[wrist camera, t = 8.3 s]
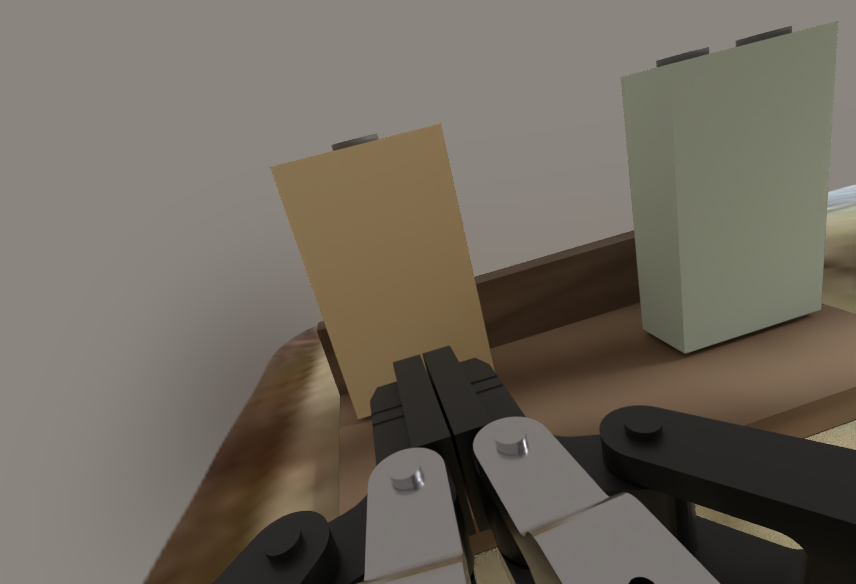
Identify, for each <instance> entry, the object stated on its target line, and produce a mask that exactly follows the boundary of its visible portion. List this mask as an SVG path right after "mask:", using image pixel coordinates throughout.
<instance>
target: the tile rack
mask: <svg viewBox="0 0 856 584" xmlns="http://www.w3.org/2000/svg"><path fill="white" fill-rule="evenodd" d="M474 278H475V283H476V288H477V292H478V297H479V301H480V306H481V311H482V315H483V320H484V324H485V329H486V334H487V338H488V343H489V347H490V352H491V357H492V361H493V366H494V370H495V373H496V374H497V377H499V379H500V380H501V382H502V383H503V385H504V386H505V387H506V389H507V390H508V392H509V393H510V395H511V396H512V398H513V399H514V400H515V402H516V403H517V405H518V406H519V408H520V409H521V411H522V412H523V414H524V415H525V416H526V418H530V419H533V420H536V421H538V422H540V423H541V424H543V425H544V426H545V427H546V428H547V429H548V430H549V431H550V432H551V434H552V435H557V436H566V437H573V436H587V435H600V431H599V427H600V423H601V421H602V419H603V418H604V417H605V416H606V415H607V414H609V413H610V412H612V411H614V410H616V409H619V408H622V407H626V406H633V405H646V406H654V407H659V408H663V409H668V410H673V411H677V412H682V413H687V414H691V415H696V416H701V417H705V418H710V419H714V420H719V421H724V422H728V423H733V424H738V425H742V426H747V427H751V428H756V429H761V430H765V431H770V432H775V433H779V434H784V435H788V436H793V437H798V438H805V437H807V436H810V435H813V434H816V433H819V432H822V431H824V430H827V429H830V428H833V427H836V426H839V425H841V424H844V423H847V422H850V421H853V420H855V419H856V314H853V313H850V312H847V311H843V310H840V309H837V308H834V307H831V306H828V305H824V304H821V310H818V311H815V312H812V313H809V314H806V315H802V316H799V317H796V318H793V319H790V320H787V321H784V322H781V323H778V324H775V325H772V326H769V327H766V328H762V329H759V330H756V331H753V332H750V333H747V334H744V335H741V336H738V337H735V338H732V339H729V340H726V341H722V342H719V343H716V344H713V345H710V346H707V347H704V348H701V349H698V350H695V351H692V352H689V353H683V352H681V351H679V350H678V349H676V348H674V347H673V346H671V345H669V344H668V343H666V342H664V341H662V340H661V339H659V338H657V337H656V336H654V335H652V334H650V333H649V332H647V331H645V330H644V329H643V326H642V314H641V303H640V291H639V280H638V268H637V257H636V245H635V234H634V231H630V232H627V233H623V234H620V235H616V236H613V237H610V238H606V239H603V240H599V241H596V242H593V243H589V244H585V245H582V246H579V247H575V248H572V249H568V250H565V251H562V252H558V253H555V254H551V255H548V256H544V257H541V258H538V259H534V260H531V261H527V262H524V263H521V264H517V265H514V266H511V267H507V268H503V269H500V270H497V271H493V272H490V273H486V274H483V275H479V276H476V277H474ZM317 332H318V335H319V338H320V340H321V343H322V346H323V349H324V352H325V354H326V357H327V360H328V363H329V366H330V368H331V371H332V374H333V377H334V380H335V382H336V385H337V388H338V391H339V394H340V450H339V516H341V515H342V514H344V513H346V512H347V511H349V510H350V509H352V508H353V507H355V506H356V505H357V504H358V503H359V502H360V501H361V500H362V499H363V498H364V497H365V496H366V495H367V494H368V482H369V478H370V475H371V474H372V472H373V470H374V469H375V468H376V458H375V448H374V438H373V426H372V417H371V416H372V415H370V416H367V417H364V418H361V419H358V418H357V415H356V412H355V409H354V406H353V403H352V400H351V397H350V395H349V392H348V389H347V386H346V383H345V380H344V377H343V375H342V372H341V369H340V366H339V363H338V360H337V357H336V355H335V352H334V349H333V346H332V343H331V340H330V337H329V334H328V332H327V329H326V326H325V323H324V321H323V322H319V323H318V328H317ZM466 496H467V495H466ZM467 500H468V498H467ZM468 503H469V501H468ZM469 507H470V504H469ZM470 511H471V515H472V519H473V522H474V526H475V530H476V534H474V535H471V536H469V540H470V543H471V547H472V551H473V555H475V554H477V553H480V552H483V551H486V550H489V549H491V548H494V547H497V543H496V540H495V538H494V535H493V533H492V530H491V529H488V530H485V531H482V532H479V529H478V526H477V523H476V521H475V518H474V515H473V512H472V509H471V507H470Z"/></svg>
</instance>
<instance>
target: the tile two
mask: <svg viewBox="0 0 856 584" xmlns="http://www.w3.org/2000/svg"><path fill="white" fill-rule="evenodd" d="M837 33H838V21H836V22H832V23H828V24H824V25H820V26H816V27H812V28H809V29H805V30H801V31H797V32H793V33H792V26H789V27H785V28H782V29H777V30H774V31H770V32H766V33H762V34H759V35H755V36H752V37H748V38H745V39H741V40H738V41H736V47H734V48H731V49H727V50H723V51H719V52H715V53H711V54H709V47H707V48H703V49H699V50H695V51H691V52H687V53H683V54H680V55H676V56H673V57H669V58H665V59H662V60H658V61H656V63H657V68H653V69H650V70H646V71H643V72H639V73H635V74H631V75H628V76H624V77H621V85H622V96H623V108H624V118H625V131H626V142H627V153H628V164H629V176H630V188H631V200H632V211H633V222H634V234H635V245H636V257H637V268H638V280H639V291H640V303H641V314H642V326H643V329H644V330H645V331H647V332H649V333H650V334H652V335H654V336H656V337H657V338H659V339H661V340H662V341H664V342H666V343H668V344H669V345H671V346H673V347H674V348H676V349H678V350H679V351H681V352H683V353H689V352H692V351H695V350H698V349H701V348H704V347H707V346H710V345H713V344H716V343H719V342H722V341H726V340H729V339H732V338H735V337H738V336H741V335H744V334H747V333H750V332H753V331H756V330H759V329H762V328H766V327H769V326H772V325H775V324H778V323H781V322H784V321H787V320H790V319H793V318H796V317H799V316H802V315H806V314H809V313H812V312H815V311H818V310H821V302H822V285H823V269H824V252H825V235H826V218H827V201H828V184H829V167H830V151H831V134H832V116H833V100H834V82H835V67H836V66H835V65H836V49H837Z"/></svg>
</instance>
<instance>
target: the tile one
mask: <svg viewBox="0 0 856 584" xmlns="http://www.w3.org/2000/svg"><path fill="white" fill-rule="evenodd" d="M332 148H333V151H331V152H327V153H324V154H320V155H316V156H312V157H308V158H304V159H300V160H296V161H293V162H288V163H285V164H281V165H277V166H273V167H270V168H271V171H272V174H273V177H274V180H275V183H276V185H277V188H278V191H279V194H280V197H281V200H282V203H283V205H284V208H285V211H286V214H287V217H288V220H289V223H290V226H291V228H292V231H293V234H294V237H295V240H296V243H297V245H298V248H299V251H300V254H301V257H302V260H303V263H304V266H305V268H306V271H307V274H308V277H309V280H310V283H311V286H312V288H313V291H314V294H315V297H316V300H317V303H318V306H319V308H320V311H321V314H322V317H323V320H324V323H325V326H326V329H327V332H328V334H329V337H330V340H331V343H332V346H333V349H334V352H335V355H336V357H337V360H338V363H339V366H340V369H341V372H342V375H343V377H344V380H345V383H346V386H347V389H348V392H349V395H350V397H351V400H352V403H353V406H354V409H355V412H356V415H357V418H358V419H361V418H364V417H367V416H370V415H371V407H370V400H371V398H372V396H373V394H374V392H375V390H376V388H377V387H380V386H383V385H386V384H390V383H393V382H396V381H397V380H396V376H395V371H394V367H393V362H395V361H399V360H402V359H405V358H409V357H412V356H415V355H419V354H420V355H421V358H422V361H423V363H424V360H423V355H422V353H425V352H429V351H432V350H435V349H439V348H442V347H445V346H449V345H450V347H451V348H452V350H453V352H454V354H455V356H456V357H457V359H458V361H459V362H462V361H465V360H469V359H472V358H477V359H479V360H482V361H484V362H486V363H488V364H490V366H491V367H492V369H493V370H494V366H493V361H492V357H491V352H490V347H489V343H488V338H487V334H486V329H485V324H484V320H483V315H482V311H481V306H480V301H479V297H478V292H477V288H476V283H475V278H474V274H473V269H472V265H471V260H470V255H469V251H468V246H467V242H466V237H465V233H464V228H463V223H462V219H461V214H460V209H459V205H458V200H457V196H456V191H455V186H454V182H453V177H452V173H451V168H450V164H449V159H448V154H447V150H446V145H445V141H444V136H443V132H442V127H441V124H437V125H433V126H429V127H425V128H421V129H417V130H413V131H410V132H406V133H402V134H398V135H394V136H390V137H386V138H382V139H378V136H377V134H373V135H368V136H365V137H361V138H357V139H352V140H349V141H345V142H341V143H337V144H334V145H332ZM424 366H425V363H424ZM425 369H426V367H425ZM494 372H495V370H494Z"/></svg>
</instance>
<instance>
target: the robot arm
mask: <svg viewBox="0 0 856 584" xmlns="http://www.w3.org/2000/svg"><path fill="white" fill-rule="evenodd" d="M422 355H423V360H424V363H425V366H424V363H423V361H422V358H421V355H420V354H419V355H415V356H412V357H409V358H405V359H402V360H399V361H395V362H393V367H394V371H395V376H396V380H397V381H396V382H393V383H390V384H386V385H383V386H380V387H377V388H376V390H375V392H374V394H373V396H372V398H371V400H370V407H371V415H372V416H371V417H372V426H373V438H374V448H375V458H376V468H375V469H374V470H373V472H372V474H371V475H370V478H369V482H368V494H367V495H366V496H365V497H364V498H363V499H362V500H361V501H360V502H359V503H358V504H357V505H356V506H355V507H353V508H352V509H350V510H349V511H347V512H346V513H344V514H342V515H341V516H339V517H337V518H336V519H334V520H332V521H331V522H329V523H327V520H326V519H325V518H324V517H323V516H322V515H321V514H319V513H316V512H312V511H300V512H295V513H291V514H288V515H286V516H283V517H281V518H279V519H277V520H276V521H274V522H273V523H271V524H270V525H268V526H267V527H266V528H264V529H263V530H262V531H261V532H260V533H259V534H258V535H257V536H256V537H255V538H254V539H253V540H252V541H251V542H250V543H249V545H248V546H247V547H246V548H245V549H244V550H243V551H242V552H241V553H240V554H239V555H238V557H237V558H236V559H235V560H234V561H233V562H232V563H231V564H230V565H229V566H228V567H227V569H226V570H225V571H224V572H223V573H222V574H221V575H220V576H219V577H218V578H217V579H216V581H215V582H214V583H213V584H477V579H476V575H475V572H474V555H473V551H472V547H471V543H470V540H469V536H471V535H474V534H476V530H475V526H474V522H473V519H472V515H471V511H470V507H471V509H472V512H473V515H474V518H475V521H476V523H477V526H478V529H479V532H482V531H485V530H488V529H491V530H492V533H493V535H494V538H495V540H496V543H497V547H498V551H499V555H500V559H501V563H502V566H503V568H504V571H505V573H506V575H507V577H508V579H509V581H510V583H511V584H856V450H853V449H849V448H844V447H839V446H835V445H830V444H826V443H821V442H816V441H812V440H807V439H802V438H798V437H793V436H788V435H784V434H779V433H775V432H770V431H765V430H761V429H756V428H751V427H747V426H742V425H738V424H733V423H728V422H724V421H719V420H714V419H710V418H705V417H701V416H696V415H691V414H687V413H682V412H677V411H673V410H668V409H663V408H659V407H654V406H646V405H633V406H626V407H622V408H619V409H616V410H614V411H612V412H610V413H609V414H607V415H606V416H605V417H604V418H603V419H602V421H601V423H600V427H599V431H600V435H587V436H573V437H566V436H557V435H552V434H551V432H550V431H549V430H548V429H547V428H546V427H545V426H544V425H543V424H541V423H540V422H538V421H536V420H533V419H530V418H526V416H525V415H524V414H523V412H522V411H521V409H520V408H519V406H518V405H517V403H516V402H515V400H514V399H513V398H512V396H511V395H510V393H509V392H508V390H507V389H506V387H505V386H504V385H503V383H502V382H501V380H500V379H499V377H497V374H496V373H495V372H494V370H493V369H492V367H491V366H490V364H488V363H486V362H484V361H482V360H479V359H477V358H472V359H469V360H465V361H462V362H459V361H458V359H457V357H456V356H455V354H454V352H453V350H452V348H451V347H450V345H449V346H445V347H442V348H439V349H435V350H432V351H429V352H425V353H422ZM425 367H426V369H425ZM466 495H467V496H466ZM467 498H468V500H467ZM468 501H469V503H468ZM469 504H470V507H469ZM695 504H698V505H701V506H704V507H707V508H710V509H712V510H715V511H718V512H721V513H724V514H727V515H730V516H733V517H736V518H739V519H742V520H745V521H748V522H751V523H754V524H757V525H760V526H763V527H766V528H769V529H772V530H775V531H778V532H780V533H782V534H784V535H786V536H788V537H790V538H791V539H793V540H794V541H796V542H797V543H798V544H799V545H800V546H801V547H802V548H803V549H791V548H787V547H784V546H781V545H779V544H776V543H773V542H770V541H767V540H764V539H761V538H759V537H756V536H753V535H750V534H747V533H744V532H741V531H739V530H736V529H733V528H730V527H727V526H724V525H722V524H719V523H716V522H713V521H710V520H707V519H704V518H702V517H699V516H696V511H695Z"/></svg>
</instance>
